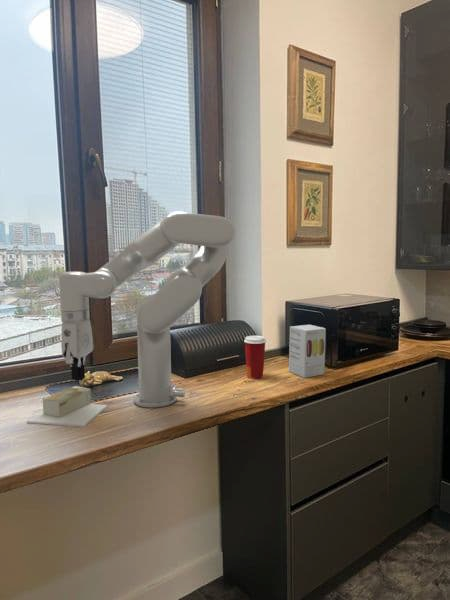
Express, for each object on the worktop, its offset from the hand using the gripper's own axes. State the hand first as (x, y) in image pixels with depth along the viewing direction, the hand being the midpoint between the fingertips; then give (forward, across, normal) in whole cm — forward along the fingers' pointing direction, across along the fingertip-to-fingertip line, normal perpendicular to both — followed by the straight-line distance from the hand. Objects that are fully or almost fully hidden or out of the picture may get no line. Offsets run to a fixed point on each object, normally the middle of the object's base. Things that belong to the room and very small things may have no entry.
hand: (78, 379), depth 124 cm
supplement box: (+8, +43, -65) cm, 78 cm away
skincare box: (+6, +3, 0) cm, 6 cm away
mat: (+8, -6, 0) cm, 10 cm away
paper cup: (+8, +36, -47) cm, 60 cm away
